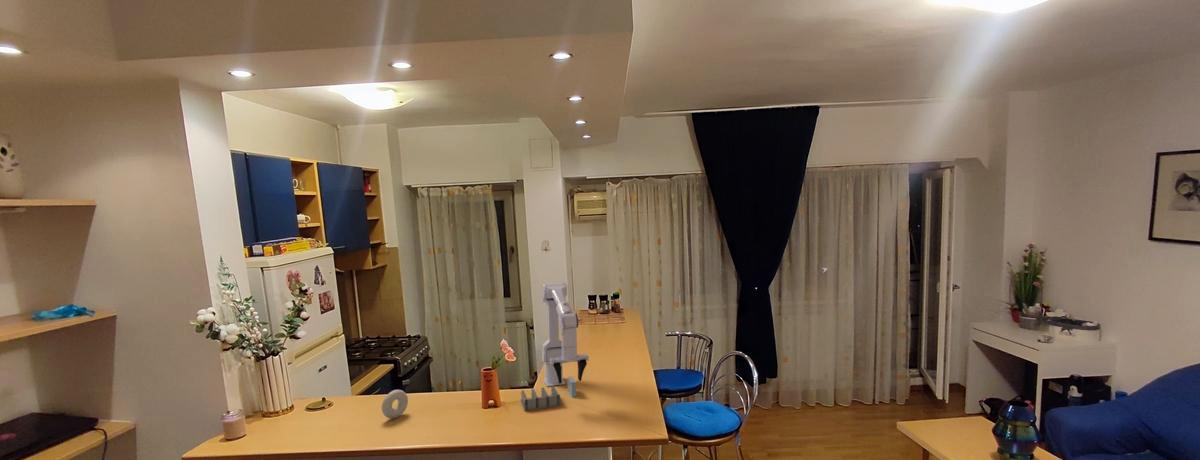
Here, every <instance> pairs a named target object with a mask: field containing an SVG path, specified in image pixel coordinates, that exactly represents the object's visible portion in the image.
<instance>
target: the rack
mask: <svg viewBox="0 0 1200 460" xmlns="http://www.w3.org/2000/svg"><path fill="white" fill-rule="evenodd" d="M550 387H551V390H550V391H551V394H550V395H548V392H547V391H546V389H545V387H541V388H540V389H541V396H538V395H537V392H536V390H535V389H534V388H531V390H530V391H531V395H530V396H531V397H527V394H526V392H525V390H521V391H520V394H521V395H520V397H521V399H520V403H521V405H522V408H523V411H524V412H527V411H529V412H530V411H534V410H543V409H549V408H556V407H561V394H559V392H558V390H557V389H556V388H555V386H550Z"/></svg>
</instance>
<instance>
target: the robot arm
mask: <svg viewBox="0 0 1200 460" xmlns="http://www.w3.org/2000/svg"><path fill="white" fill-rule="evenodd" d="M541 287H542V288H541V299H542V302H544V303H546V307H547V337H548V338H547V340H545V342H543V343H542V346H541V358H542V359H541V360H542V362H543V363H545V365H544V378H542V380H543V382H544V383H545V386H546V387H552V386H554V387H555V386H562V385H566V381H565V380H564V375H563V373H564V372H563V364H566V363H567V364H568V363H574V362H577V380H578V382H579V381H580V382H581V381H582V379H583V374H584V371H585V370H586V367H587V365H588V362H587V361H590V360H589V359H590V358H589V354H588V353H585V354H583V353H582V354H578V340H577V331H578V330H577V329H578V328H579V324H580V323H579V321H580V320H579V316H578V313H577V312H576V311H573V308H572V305H571V304H570V302H569V301H566V297H567V296H568V286H567V284H566V283H565V282H558V283H556V282H555V283H543V284H542V286H541ZM560 334H561V335H560ZM560 336H561V339H560Z"/></svg>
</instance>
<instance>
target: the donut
mask: <svg viewBox="0 0 1200 460" xmlns="http://www.w3.org/2000/svg"><path fill="white" fill-rule="evenodd" d="M396 400H397V401H398V403H397V405H396V406H395V408H393V403H394V402H395V401H396ZM408 404H409V399H408V394H407V393H406V392H405V391H404V390H402V389H393V390H391V391H390V392H389V393H388V394H386V396H385V397H384V399H383V401H382V403H381V412H382V414H383V416H384V417H385V418H388V419H397V418H398V417H400V416H402V415H403V414H404V413H405V411H406V410H407V407H408Z"/></svg>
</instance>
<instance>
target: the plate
mask: <svg viewBox="0 0 1200 460" xmlns="http://www.w3.org/2000/svg"><path fill="white" fill-rule="evenodd" d="M567 392H568V394H569V395H570V396H571V398H577V381H576V379H574V377H573V376H567Z"/></svg>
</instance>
